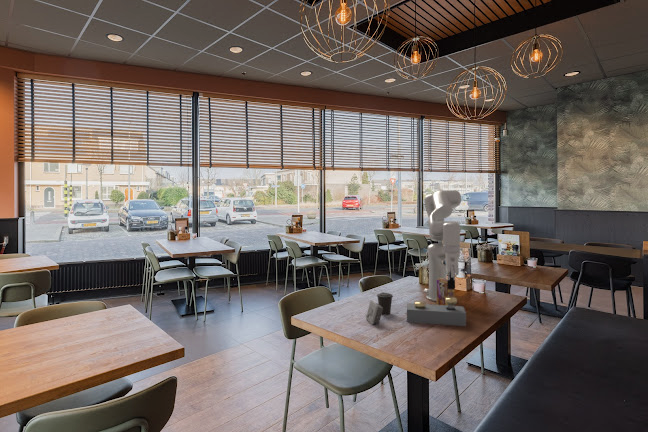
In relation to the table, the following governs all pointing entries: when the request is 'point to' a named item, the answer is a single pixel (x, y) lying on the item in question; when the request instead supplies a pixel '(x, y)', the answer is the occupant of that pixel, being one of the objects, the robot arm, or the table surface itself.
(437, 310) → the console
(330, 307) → the table surface
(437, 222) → the robot arm
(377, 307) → the electrical switch
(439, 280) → the candy box
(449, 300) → the knob
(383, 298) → the coffee cup
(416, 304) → the knob
